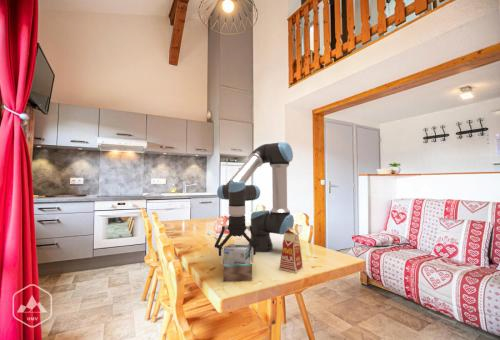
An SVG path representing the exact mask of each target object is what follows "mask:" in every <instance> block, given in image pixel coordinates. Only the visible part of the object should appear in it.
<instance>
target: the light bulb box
mask: <svg viewBox="0 0 500 340" xmlns="http://www.w3.org/2000/svg"><path fill="white" fill-rule="evenodd" d="M235 264H251V250H250V245H248V244H236V243H235V244H234V243H228V244H227V245H225V246H223V266H224V265H235Z"/></svg>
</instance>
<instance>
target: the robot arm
mask: <svg viewBox="0 0 500 340" xmlns="http://www.w3.org/2000/svg"><path fill="white" fill-rule="evenodd" d="M293 158H294V153H293V149H292V146H291V145H290V144H289V143H288V142H280V141H279V142H274V143H265V144H262V145H260V146H258V147H257V148H255V149H254V150H253V151H252V152H250V154H249V155H248V156H247V160H246V161H245V162H244V163H243V164H242V166H241V167H239V169H238V170H237V171H236V172H235V174H233V176H232V177H230V179H229V181H227V183H226V184H221V185H219V186H218V188H217V190H216V195H217V197H218V198H219V199H221V200H226V201H228V226H225V225H222V226H221V230H220V233H219V234H218V237H217V239H216V242H215V243H214V248H215V249H218V256H219V257H220V260H221V261H220V264H221V265H224V245H226V243H227V242H228V240H229V239H231V237H243V238H245V240H247V241H246V242H248V244H247V245H250V263H251V264H254V256H256V254H257V253H258V252H259V253H264V252H270V251H272V250H273V249H274V248H273V247H274V245H273V242H272V239H271V234H277V235H284V233H285V232H286V231H287V230H288V227H289V228H293V229H294V223H295V219H294V216H293V215H292V214H291V211H290V209H289V208H288V180H287V179H288V177H287V176H288V172H287V171H288V170H287V169H288V167H289V166H290V162H292V161H293ZM266 163H267V164H269V167H271V168H272V169H271V174H272V177H271V178H272V183H271V184H272V208H271V209H270V210H267V209H266V210H258V211H253V212H251V214H250V224H249V225H247V226H246V216H245V214H246V202H248V201H250V202H251V201H256V200H258V199H259V198H260V196H261V190H260V188H259V186H257V185H256V184H255V185H254V184H246V183H247V182H248V180H249V179H250V177H252V175H253V174H254V172H255V171H256V170H257V169H258V168H260V167H262V165H263V164H266ZM227 230H228V233H227V235H226V236H225V237H224V238H223V240H222V237H223V236H224V233H225V232H227ZM246 231H249V232H250V237H249V236H248V234H247V233H246ZM270 233H271V234H270ZM221 240H222V241H221ZM219 243H220V244H219Z"/></svg>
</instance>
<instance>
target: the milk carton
mask: <svg viewBox="0 0 500 340" xmlns="http://www.w3.org/2000/svg"><path fill="white" fill-rule="evenodd" d="M303 265H304V264H303V257H302V249H301V243H300V235H299V234H298V233H297V232H296V231H295V230H294V227H293V228H289V227H288V230H287V231H286V232H285V233H284V234H283V240H282V248H281V254H280V262H279V267H278V270H281V271H284V272H289V273H294V274H298V273H299V272H300V271H301V270H302V269H304V266H303Z"/></svg>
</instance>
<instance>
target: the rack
mask: <svg viewBox="0 0 500 340" xmlns="http://www.w3.org/2000/svg"><path fill="white" fill-rule="evenodd" d="M245 281H246V282H247V281H249V282H250V281H253V263H250V264H235V265H224V264H223V282H224V283H225V282H228V283H229V282H245Z"/></svg>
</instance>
